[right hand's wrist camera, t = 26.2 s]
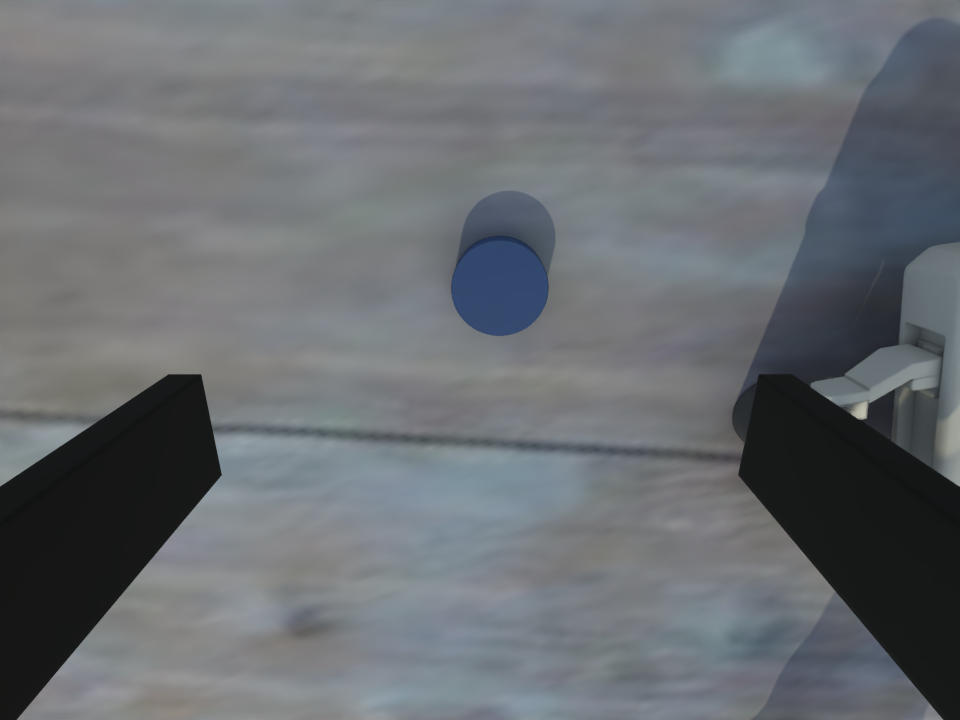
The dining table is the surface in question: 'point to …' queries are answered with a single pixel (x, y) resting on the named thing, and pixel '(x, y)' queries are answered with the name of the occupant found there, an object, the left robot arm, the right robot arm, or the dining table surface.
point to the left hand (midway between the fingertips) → (814, 471)
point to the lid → (499, 286)
